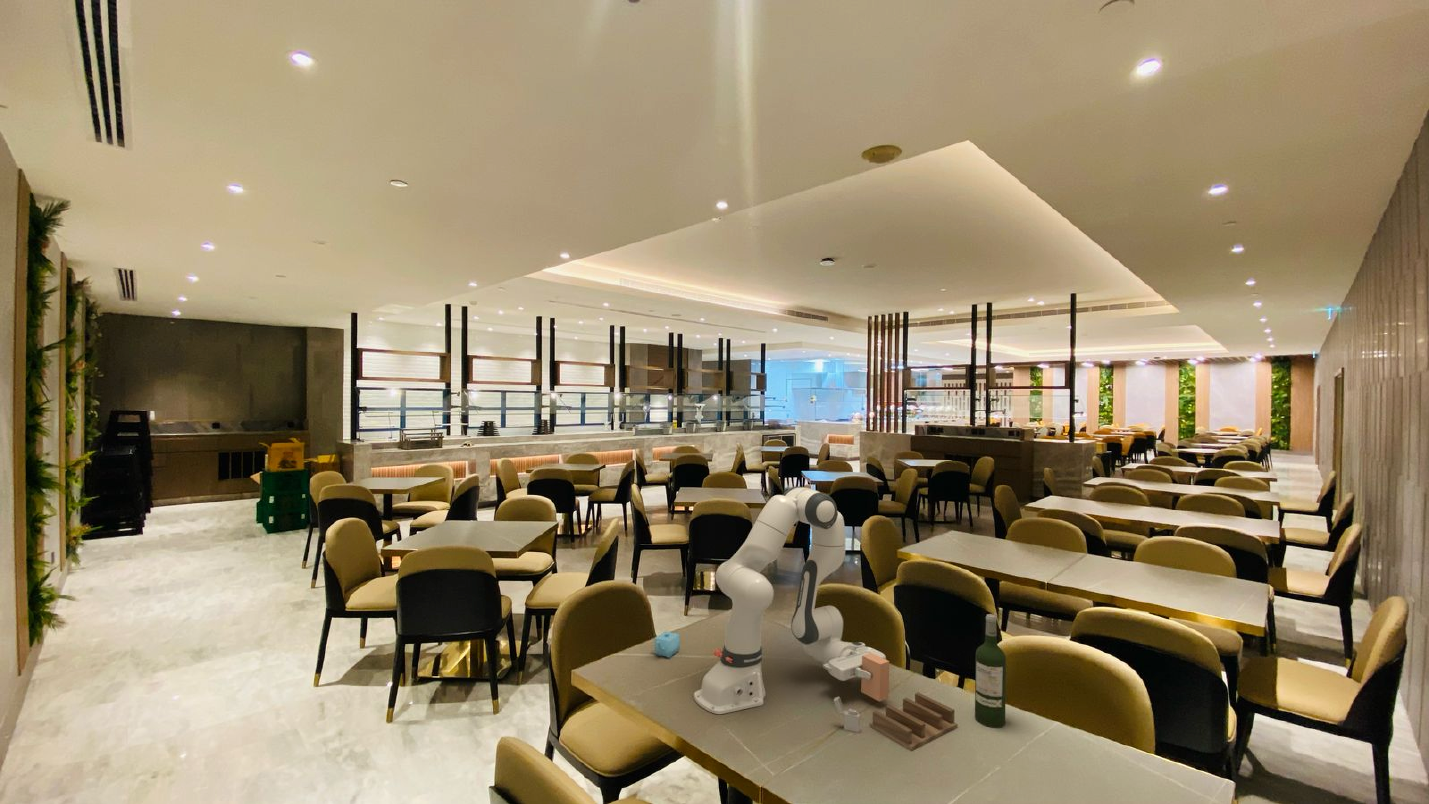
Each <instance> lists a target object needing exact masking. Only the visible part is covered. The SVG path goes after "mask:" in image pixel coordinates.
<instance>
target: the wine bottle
mask: <svg viewBox="0 0 1429 804" xmlns="http://www.w3.org/2000/svg"><path fill="white" fill-rule="evenodd" d="M997 620H998V619H997V616H996V615H995V614H991V613H988V614H986V616H985V633H984V634H985V636H984V637H985V638H984V639H985V640H984V642H983V644H981V645H979V646H978V647H977V648H976V651H975V667H974V668H975V669H974V670H975V675H974V676H975V679H974V680H975V681H974V682H975V683H974V717H975V720H976V721H977V722H978V723H980V724H981V725H983V726H986V727H988V728H994V729H995V728H996V729H997V728H998V729H999V728H1002V727H1003V726H1004V725H1006V698H1007V696H1006V691H1007V689H1006V687H1007V686H1006V683H1007V682H1006V681H1007V679H1006V678H1007V656H1006V654H1005V652H1004V651H1003V650H1002V648H1001V647H1000V646H999V644H998V640H997Z"/></svg>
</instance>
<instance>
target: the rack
mask: <svg viewBox="0 0 1429 804" xmlns="http://www.w3.org/2000/svg"><path fill="white" fill-rule="evenodd" d="M914 696H915V697H914V700H912V699H911V698H908V697H904V698H903V699H902V708H901V709H898V708H896V707H895V706H893V705H890V704H888V705H886V706H885V714H884V713H882V712H881V711H878V710H874V711H872V722H869V727H870V728H872V729H873V730H875V731H877V732H879V733H880V734H882V735H884V736H886V737H887V738H889V739H890V738H891V739H890V740H892V741H894V742H896V743H897V744H899V745H901V746H903V747H904V746H905V747H904V748H906V749H908V750H909V749H910V750H909V751H911V752H912V751H913V750H916V749H918V748H919V747H921V746H924V745H925V744H926V745H927V744H928V743H930V742H932V741H934V740H936V739H937V738H939V737H941V736H943V735H944V736H945V734H947V733H950V732H951V731H953V730H955V729H958V723H956V722H955V709H953V708H952V707H949V706H947V705H945V704H944V703H941V702H940V701H937V700H935V699H933V698H931V697H929V696H927V695H924V694H923V693H920V692H916V693H915V694H914Z"/></svg>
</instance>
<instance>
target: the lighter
mask: <svg viewBox="0 0 1429 804" xmlns="http://www.w3.org/2000/svg"><path fill="white" fill-rule="evenodd" d="M833 702H834V704H835V707H836V709H837V712H838V715H843V723H844V724H843V729H844V730H845V731H850V732H854V733H860V731H861V714H860V713H858V711H856V710H855V709H851V708H849V709H848V710H845V709H846V708H845V707H844V704H843V702H842V700H841V697H840V696H836V697H834V699H833Z"/></svg>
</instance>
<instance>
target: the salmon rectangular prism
mask: <svg viewBox="0 0 1429 804" xmlns="http://www.w3.org/2000/svg"><path fill="white" fill-rule="evenodd" d="M862 670H864V671H870V672H872V673H873V678H872V679H867V678H863V677H861V684H860V685H861V687H860V688H861V689H860V692H861V693H862V694H864V695H867V696H868V697H870V698H872V699H874V700H875V701H878V702H882V701H885V700H886V699H889V689H890V687H889V686H890V684H889V683H890V661H889V660H887V659H886V660H885V659H883V658H881V657H879V656H877V655H875V654H872V653H869V654H866V655H863V656H862Z"/></svg>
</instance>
